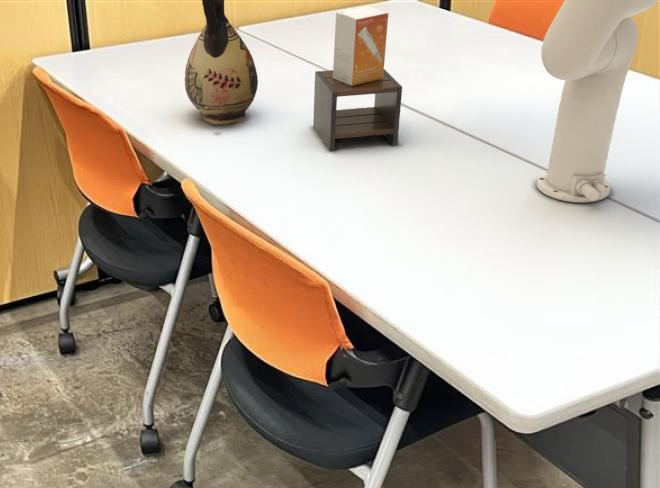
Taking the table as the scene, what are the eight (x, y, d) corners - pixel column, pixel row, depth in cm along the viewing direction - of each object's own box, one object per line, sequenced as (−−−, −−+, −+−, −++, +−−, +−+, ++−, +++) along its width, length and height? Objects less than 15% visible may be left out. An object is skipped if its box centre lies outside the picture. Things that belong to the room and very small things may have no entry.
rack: (397, 145, 196) (402, 86, 190) (329, 151, 194) (332, 92, 188) (377, 122, 207) (381, 66, 200) (313, 127, 205) (315, 71, 199)
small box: (352, 87, 190) (355, 19, 183) (331, 78, 194) (334, 11, 187) (384, 79, 193) (389, 12, 186) (363, 70, 198) (367, 4, 191)
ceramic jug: (198, 102, 220) (194, -38, 203) (265, 108, 215) (266, -34, 199) (173, 129, 206) (166, -18, 190) (244, 136, 202) (243, -14, 186)
